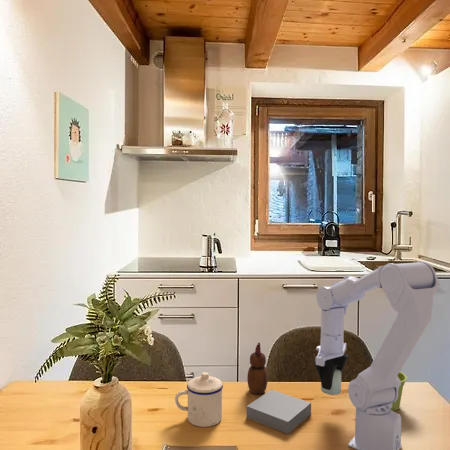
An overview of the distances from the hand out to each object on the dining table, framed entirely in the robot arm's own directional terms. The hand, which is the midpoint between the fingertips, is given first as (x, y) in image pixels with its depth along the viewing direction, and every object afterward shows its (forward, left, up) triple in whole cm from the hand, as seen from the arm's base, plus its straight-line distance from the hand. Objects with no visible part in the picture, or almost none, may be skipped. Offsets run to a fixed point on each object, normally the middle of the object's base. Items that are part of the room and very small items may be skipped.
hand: (331, 384), depth 107 cm
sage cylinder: (0, 0, -2) cm, 2 cm away
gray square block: (+10, +9, -8) cm, 16 cm away
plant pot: (-10, -14, -8) cm, 19 cm away
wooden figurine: (+22, +1, -8) cm, 24 cm away
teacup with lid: (+25, +23, -8) cm, 35 cm away
